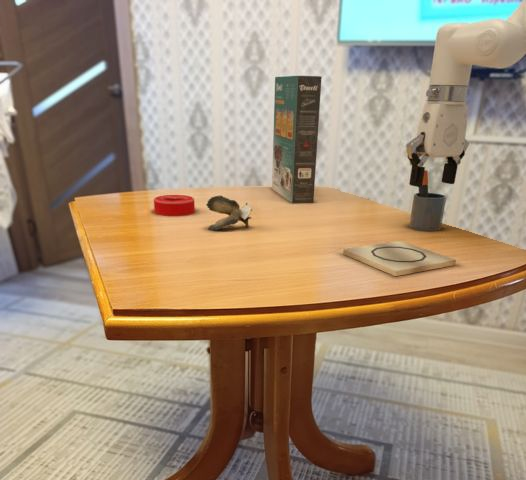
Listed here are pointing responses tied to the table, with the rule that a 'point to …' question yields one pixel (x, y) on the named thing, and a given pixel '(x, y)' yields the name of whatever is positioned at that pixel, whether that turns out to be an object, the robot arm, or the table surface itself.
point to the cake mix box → (295, 136)
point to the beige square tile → (399, 258)
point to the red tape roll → (174, 205)
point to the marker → (424, 186)
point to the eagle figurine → (228, 212)
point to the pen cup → (427, 212)
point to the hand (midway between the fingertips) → (431, 184)
